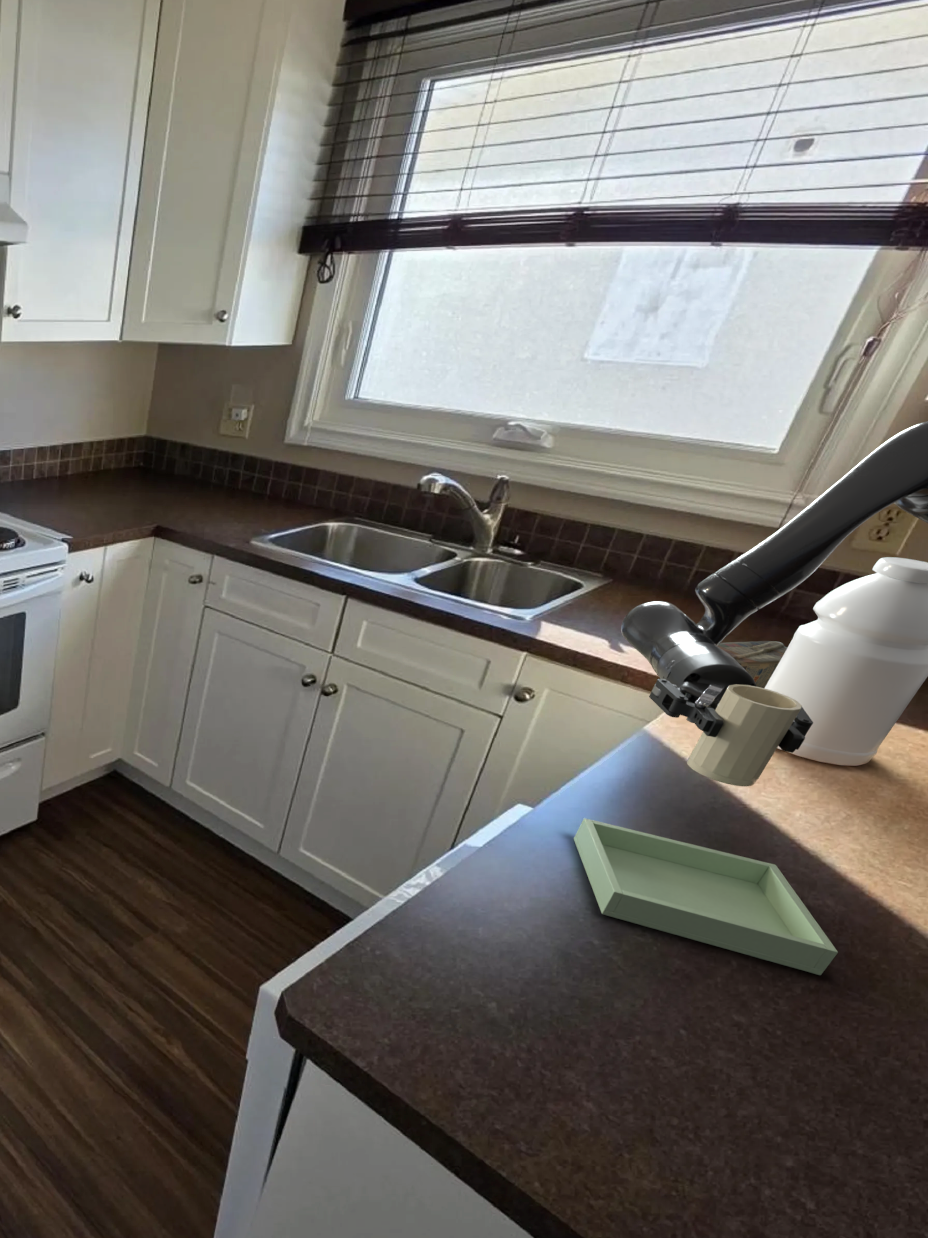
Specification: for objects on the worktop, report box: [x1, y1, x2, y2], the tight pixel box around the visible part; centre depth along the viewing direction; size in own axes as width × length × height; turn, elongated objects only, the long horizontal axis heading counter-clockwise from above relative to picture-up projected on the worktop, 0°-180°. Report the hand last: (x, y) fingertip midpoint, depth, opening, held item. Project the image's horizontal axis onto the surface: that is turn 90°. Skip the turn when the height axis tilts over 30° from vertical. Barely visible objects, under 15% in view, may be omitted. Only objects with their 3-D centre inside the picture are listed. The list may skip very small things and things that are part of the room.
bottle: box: [764, 556, 928, 767], centre depth 113 cm, size 14×14×28 cm
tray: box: [573, 817, 839, 976], centre depth 86 cm, size 18×15×3 cm
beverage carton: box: [717, 640, 788, 688], centre depth 136 cm, size 8×19×7 cm, turn 102°
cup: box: [686, 684, 802, 787], centre depth 91 cm, size 6×6×10 cm
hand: (753, 736), depth 89 cm, fingers closed on cup, 6 cm apart
